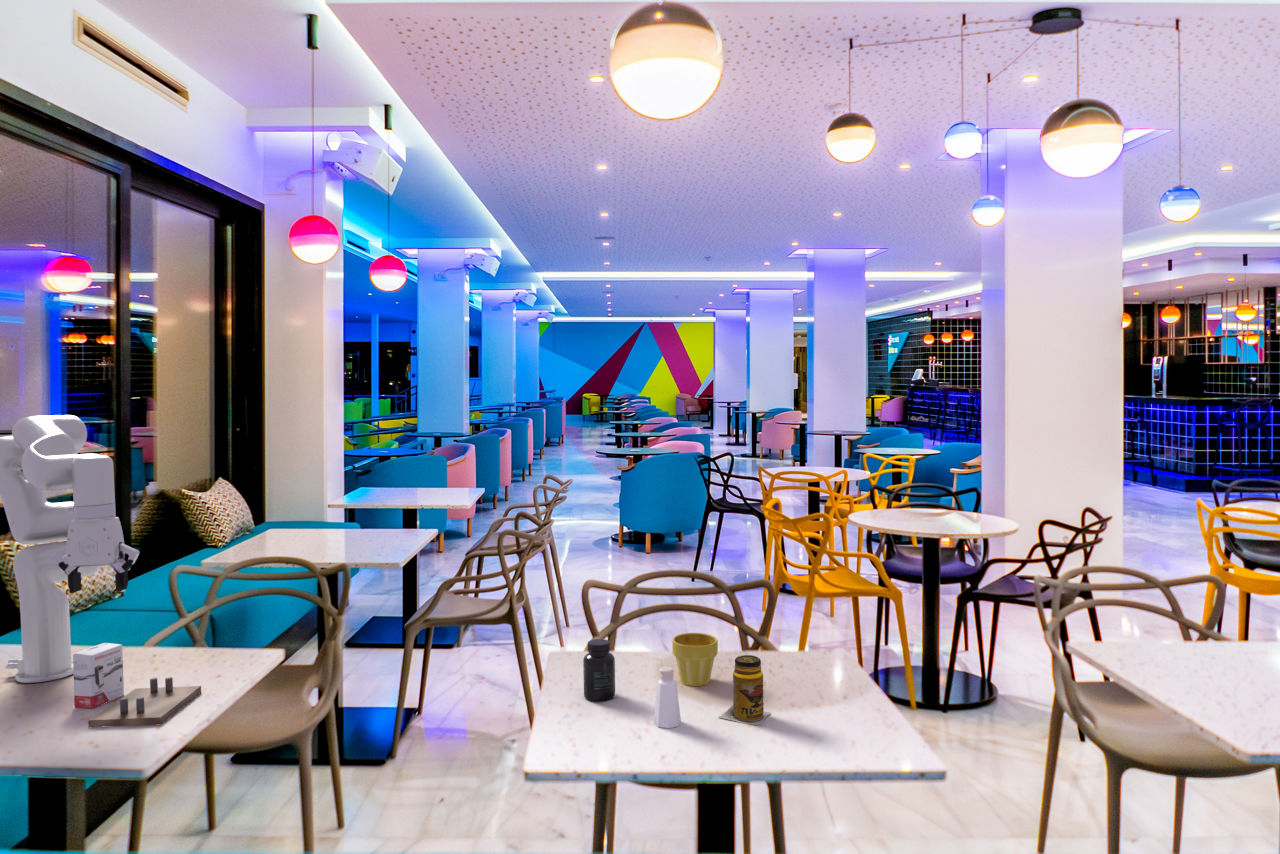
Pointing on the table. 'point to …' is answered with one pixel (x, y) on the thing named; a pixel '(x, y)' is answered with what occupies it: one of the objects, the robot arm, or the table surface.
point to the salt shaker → (667, 700)
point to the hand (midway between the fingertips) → (98, 590)
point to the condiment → (747, 692)
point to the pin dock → (146, 705)
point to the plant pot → (695, 657)
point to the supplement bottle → (599, 671)
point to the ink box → (98, 675)
